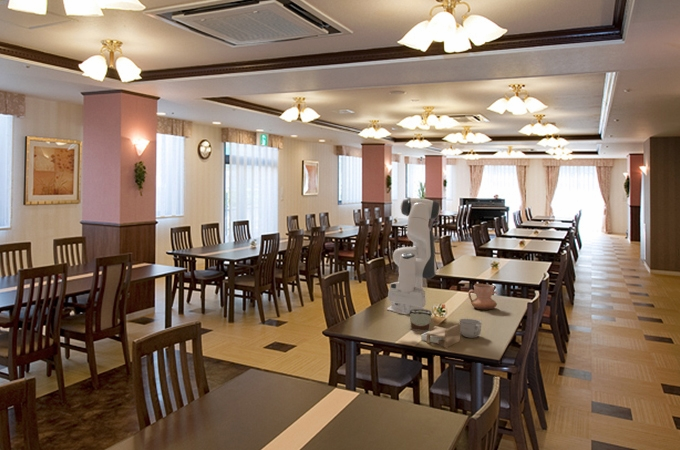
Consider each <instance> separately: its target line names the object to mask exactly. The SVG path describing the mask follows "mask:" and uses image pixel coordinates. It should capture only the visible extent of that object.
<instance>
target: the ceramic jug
mask: <svg viewBox="0 0 680 450" xmlns="http://www.w3.org/2000/svg"><path fill="white" fill-rule="evenodd" d="M494 290H495V286H494V285H492V284H491V285H490V284H474V285H473V289H469V291H468V292H467V293H468V294H467V296H468V298H469V300H470V303H471V306H472V307H473V308H474V309H478V310H483V311H489V310H492V309H494V308H496V307H497V305H498V303H497V302H496V300H494V299H492V296H493V295H494V294H496V295H498V293H499V291H497V290H496V291H494ZM471 293H473V294H475V296H476V297H475V299H473V298H472V297H471V296H472V295H471Z"/></svg>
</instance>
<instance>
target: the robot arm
mask: <svg viewBox="0 0 680 450" xmlns="http://www.w3.org/2000/svg"><path fill="white" fill-rule="evenodd" d="M400 211H401V212H400V213H401V214H402V215H404V216H406V217H408V219H407V228H406V229H407V232H406V236H407V238H408V240H409V241H411V242H412V243H413V244H412V246H404V247H402V246H401V247H398V248H395V250H394V251H393V253H392V260H393V262H394V264H395V265H397V267H398V274H399V275H398V278H397V281H395V282H391V283H389V289H388V293H387V300H388V301H389V302H391V303H390V306H388V307H387V309H386V310H387V311H389V312H393V313H398V314H401V315H410V314H409V312H410V310H412V309H425V308H424V307H425V306H426V305H427V303H426V301H427V300H426V291H425V290H424V289H423V279H427V280H430V279H433V278H434V277H435V276H436V275H437V272H438V271H437V270H438V269H437V267H438V266H437V262H436V246H435V237H434V233H433V231H432V230H431V229H430V228H429V223H430V222H429V221H430V220H436V219H437V218H438V217H439V215H440V214H441V205H440V202H438V201H436V200H431V199H428V198H416V197H404V198H403V199H402V201H401V203H400Z"/></svg>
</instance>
